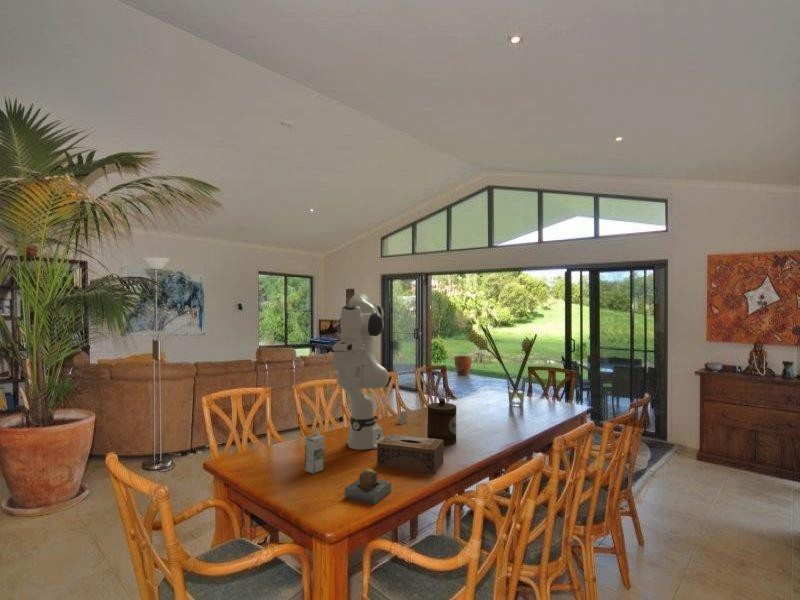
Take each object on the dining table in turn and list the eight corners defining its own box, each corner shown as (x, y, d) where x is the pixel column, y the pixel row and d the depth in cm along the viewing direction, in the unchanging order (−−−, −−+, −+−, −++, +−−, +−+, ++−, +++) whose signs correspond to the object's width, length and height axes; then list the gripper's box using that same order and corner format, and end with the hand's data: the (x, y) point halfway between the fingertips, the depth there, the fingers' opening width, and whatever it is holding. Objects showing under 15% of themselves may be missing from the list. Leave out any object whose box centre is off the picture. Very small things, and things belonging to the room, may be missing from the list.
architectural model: (396, 424, 252) (396, 411, 253) (402, 421, 258) (402, 409, 258) (401, 425, 250) (401, 412, 251) (407, 422, 256) (407, 410, 256)
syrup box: (315, 467, 184) (315, 432, 184) (324, 470, 180) (324, 435, 180) (304, 470, 179) (304, 436, 179) (313, 474, 175) (313, 438, 176)
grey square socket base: (363, 485, 165) (363, 475, 165) (391, 491, 159) (391, 481, 159) (344, 497, 154) (344, 487, 154) (373, 504, 148) (374, 494, 149)
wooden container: (458, 445, 212) (458, 401, 213) (428, 445, 212) (428, 401, 213) (454, 436, 227) (454, 395, 227) (426, 436, 227) (426, 395, 227)
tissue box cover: (443, 462, 190) (443, 439, 190) (434, 474, 177) (434, 450, 177) (389, 455, 199) (389, 433, 199) (377, 466, 185) (377, 443, 185)
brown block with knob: (366, 491, 160) (366, 467, 160) (376, 493, 158) (377, 469, 158) (359, 495, 156) (359, 471, 156) (370, 498, 154) (370, 474, 154)
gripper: (358, 342, 186) (358, 374, 186) (329, 346, 168) (329, 381, 168) (371, 343, 183) (370, 375, 183) (343, 347, 165) (342, 383, 165)
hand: (350, 378), depth 175 cm, fingers open, 8 cm apart
